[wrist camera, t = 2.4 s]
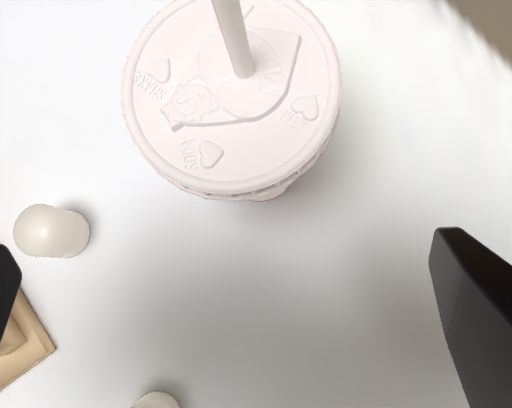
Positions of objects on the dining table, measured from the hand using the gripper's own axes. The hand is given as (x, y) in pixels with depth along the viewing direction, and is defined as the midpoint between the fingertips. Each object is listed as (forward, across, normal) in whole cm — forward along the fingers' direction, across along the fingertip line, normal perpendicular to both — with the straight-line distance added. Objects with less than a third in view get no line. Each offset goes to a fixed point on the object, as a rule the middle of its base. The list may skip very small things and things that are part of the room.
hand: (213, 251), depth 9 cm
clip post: (+10, +10, +7) cm, 16 cm away
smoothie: (+12, 0, +5) cm, 13 cm away
